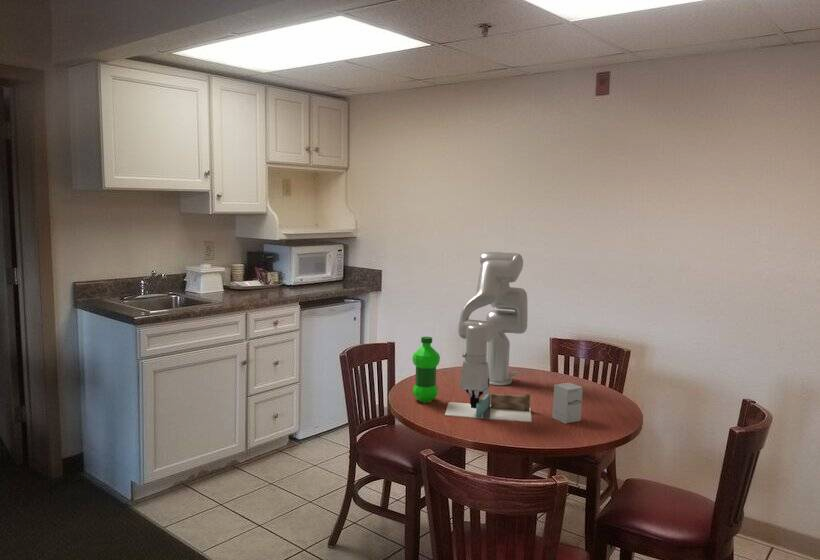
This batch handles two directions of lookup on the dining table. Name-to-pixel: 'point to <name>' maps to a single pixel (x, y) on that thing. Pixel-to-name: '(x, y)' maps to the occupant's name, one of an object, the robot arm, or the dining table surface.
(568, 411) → the supplement box
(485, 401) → the teal bar
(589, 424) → the dining table surface
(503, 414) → the card
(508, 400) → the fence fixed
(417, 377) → the plastic bottle
